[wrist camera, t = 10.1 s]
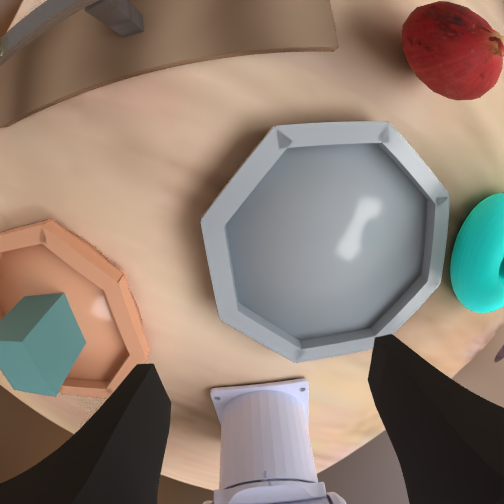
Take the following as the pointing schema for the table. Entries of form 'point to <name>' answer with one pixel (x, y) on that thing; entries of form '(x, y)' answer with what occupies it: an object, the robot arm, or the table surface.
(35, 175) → the table surface
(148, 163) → the table surface
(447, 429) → the robot arm
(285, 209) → the slate dish
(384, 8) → the table surface
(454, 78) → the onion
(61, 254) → the terracotta dish
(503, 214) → the donuts
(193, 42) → the stand
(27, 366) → the teal block
